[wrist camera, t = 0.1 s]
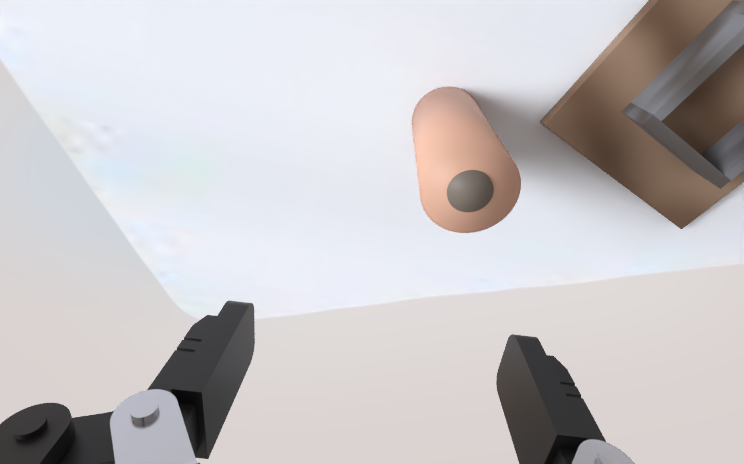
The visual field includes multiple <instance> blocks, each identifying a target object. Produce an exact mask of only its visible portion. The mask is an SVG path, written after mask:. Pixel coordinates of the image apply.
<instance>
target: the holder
mask: <svg viewBox="0 0 744 464" xmlns="http://www.w3.org/2000/svg"><path fill="white" fill-rule="evenodd" d="M540 122H541V123H542V124H543V125H544V126H545V127H546V128H548V129H549V130H550V131H552V132H553V133H554V134H556V135H557V136H558V137H560V138H561V139H562V140H564V141H565V142H566V143H568V144H569V145H570V146H572V147H573V148H574V149H576V150H577V151H578V152H580V153H581V154H582V155H584V156H585V157H586V158H588V159H589V160H590V161H592V162H593V163H594V164H596V165H597V166H598V167H599V168H601V169H602V170H603V171H605V172H606V173H607V174H609V175H610V176H611V177H613V178H614V179H615V180H617V181H618V182H619V183H621V184H622V185H623V186H625V187H626V188H627V189H629V190H630V191H631V192H633V193H634V194H635V195H637V196H638V197H639V198H641V199H642V200H643V201H645V202H646V203H647V204H649V205H650V206H651V207H653V208H654V209H655V210H657V211H658V212H659V213H661V214H662V215H663V216H665V217H666V218H667V219H668V220H670V221H671V222H672V223H674V224H675V225H676V226H678V227H679V228H680V229H683V228H684V227H685V226H686V225H688V224H689V223H690V222H692V221H693V220H694V219H695V218H697V217H698V216H699V215H701V214H702V213H703V212H705V211H706V210H707V209H708V208H710V207H711V206H712V205H714V204H715V203H716V202H717V201H719V200H720V199H721V198H723V197H724V196H725V195H727V194H728V193H729V192H730V191H732V190H733V189H734V188H736V187H737V186H738V185H739V184H741V183H742V182H743V181H744V0H649V1H648V2H647V4H646V5H645V6H644V7H643V8H642V9H641V10H640V11H639V12H638V14H637V15H636V16H635V17H634V18H633V19H632V20H631V21H630V22H629V24H628V25H627V26H626V27H625V28H624V29H623V30H622V31H621V32H620V34H619V35H618V36H617V37H616V38H615V39H614V40H613V41H612V42H611V44H610V45H609V46H608V47H607V48H606V49H605V50H604V51H603V52H602V54H601V55H600V56H599V57H598V58H597V59H596V60H595V61H594V62H593V64H592V65H591V66H590V67H589V68H588V69H587V70H586V71H585V72H584V74H583V75H582V76H581V77H580V78H579V79H578V80H577V81H576V82H575V84H574V85H573V86H572V87H571V88H570V89H569V90H568V91H567V93H566V94H565V95H564V96H563V97H562V98H561V99H560V100H559V101H558V103H557V104H556V105H555V106H554V107H553V108H552V109H551V110H550V111H549V113H548V114H547V115H546V116H545V117H544V118H543V119H542V120H541V121H540Z"/></svg>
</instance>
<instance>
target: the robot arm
mask: <svg viewBox="0 0 744 464" xmlns="http://www.w3.org/2000/svg"><path fill="white" fill-rule="evenodd" d="M254 340H255V339H254V306H253V304H252V303H244V302H236V301H227V302H226V303H225V305H224V306H223V308H222V310H221V311H220V313H219V314H218V316H211V315H207V316H205V317H204V318H203V319H201V320H200V321H198V322H197V323H195V324H194V325H193V326H192V327H191V329H190V330H189V332H188V333H187V334H186V336H185V337H184V340H182V342H181V343H180V344H179V346H178V347H177V350H176V351H175V352H174V353H173V354H172V356H171V357H170V359H169V360H168V362H167V363H166V364H165V366H164V367H163V368H162V370H161V371H160V373H159V374H158V376H157V377H156V378H155V380H154V381H153V383H152V384H151V386H150V387H149V388H148V390H146V391H142V392H139V393H137V394H134V395H132V396H130V397H129V398H127V399H126V400H124V401H123V402H122V403H121V404H120V405H119V406H118V407H117V408H116V409H115V410H114V411H112V412H108V413H103V414H96V415H89V416H83V417H76V418H72V417H71V414H70V411H69V409H68V408H67V407H65V406H64V405H61V404H57V403H44V404H38V405H34V406H31V407H28V408H26V409H23V410H21V411H19V412H17V413H15V414H14V415H12V416H10V417H9V418H8V419H6V420H5V421H4V422H2V423H1V424H0V464H197V461H196V459H195V457H196V458H205V459H208V458H209V455H210V453H211V451H212V449H213V447H214V444H215V442H216V440H217V438H218V435H219V433H220V431H221V428H222V426H223V424H224V422H225V419H226V417H227V415H228V412H229V410H230V408H231V406H232V403H233V401H234V399H235V397H236V394H237V392H238V390H239V388H240V385H241V383H242V381H243V379H244V376H245V374H246V372H247V370H248V367H249V365H250V363H251V360H252V356H253V352H254V343H255V341H254ZM497 391H498V395H499V398H500V402H501V405H502V408H503V411H504V415H505V418H506V421H507V424H508V428H509V431H510V434H511V437H512V441H513V444H514V447H515V450H516V454H517V457H518V460H519V464H635V463H634V462H633V461H632V460H631V459H630V457H628V456H627V455H626V454H625V453H624V452H622V451H621V450H620V449H618V448H617V447H615V446H613V445H611V444H609V443H607V442H606V441H605V439H604V437H603V436H602V433H601V432H600V430H599V428H598V426H597V424H596V422H595V420H594V418H593V417H592V415H591V413H590V411H589V409H588V407H587V405H586V404H585V402H584V400H583V399H582V398H581V394H580V392H579V391H578V389H577V387H576V386H575V383H574V382H573V379H572V378H571V376H570V374H569V372H568V370H567V369H566V368H565V367H564V366H563V365H562V364H561V363H560V362H559V361H558V360H557V359H556V358H555V357H554V356H548V355H546V353H545V351H544V349H543V347H542V346H541V343H540V341H539V340H538V338H536V337H529V336H520V335H511V336H510V337H509V338H508V341H507V344H506V347H505V350H504V354H503V356H502V360H501V363H500V366H499V369H498V373H497ZM198 464H200V463H198Z"/></svg>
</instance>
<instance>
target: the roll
mask: <svg viewBox="0 0 744 464" xmlns="http://www.w3.org/2000/svg"><path fill="white" fill-rule="evenodd" d="M412 131H413V139H414V148H415V156H416V165H417V173H418V182H419V191H420V199H421V203H422V206H423V209H424V211H425V212H426V214H427V215H428V217H429V218H430V219H431V220H432V221H433V222H434V223H436V224H437V225H438V226H440V227H442V228H444V229H447V230H449V231H453V232H459V233H471V232H477V231H481V230H485V229H487V228H489V227H492V226H494V225H495V224H497V223H498V222H500V221H501V220H503V219H504V218H505V217H506V216H507V215H508V214H509V213H510V211H511V210H512V209H513V207H514V206H515V204H516V202H517V200H518V197H519V194H520V189H521V179H520V174H519V171H518V168H517V166H516V164H515V163H514V161H513V160H512V158H511V157H510V155H509V153H508V152H507V150H506V149H505V147H504V146H503V144H502V142H501V141H500V139H499V138H498V136H497V135H496V133H495V132H494V130H493V128H492V127H491V125H490V124H489V122H488V121H487V119H486V117H485V116H484V114H483V113H482V111H481V110H480V108H479V107H478V105H477V103H476V102H475V100H474V99H473V98H472V96H471V95H469V94H468V93H467V92H465V91H464V90H462V89H459V88H456V87H441V88H438V89H435V90H433V91H431V92H429V93H428V94H426V95H425V96H424V97H423V98H422V99H421V100H420V101H419V102H418V104H417V106H416V107H415V110H414V112H413V116H412Z"/></svg>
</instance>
